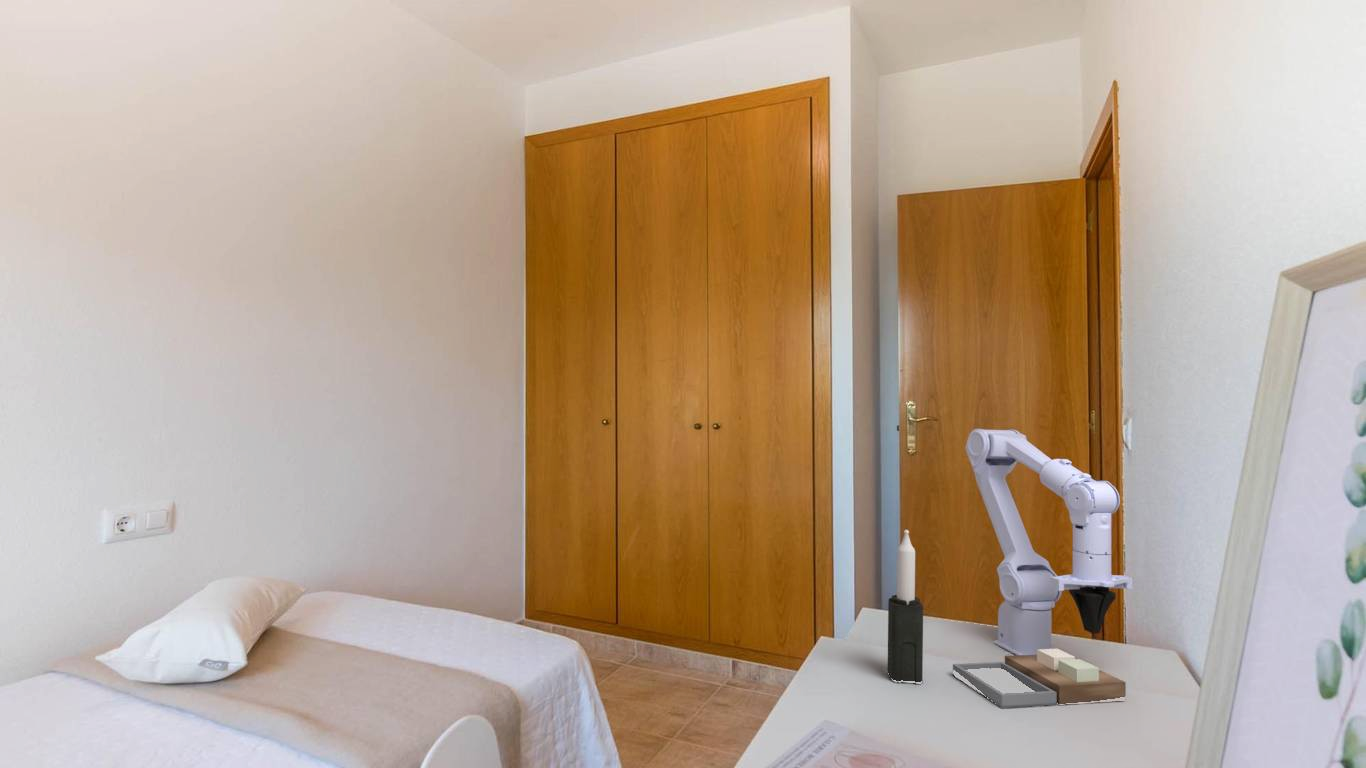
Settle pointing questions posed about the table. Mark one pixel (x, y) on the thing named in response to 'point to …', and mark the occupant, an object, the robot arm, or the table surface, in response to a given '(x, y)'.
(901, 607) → the candle
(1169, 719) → the table surface
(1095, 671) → the sage tile
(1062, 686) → the walnut board
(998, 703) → the tray
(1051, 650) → the cream tile
